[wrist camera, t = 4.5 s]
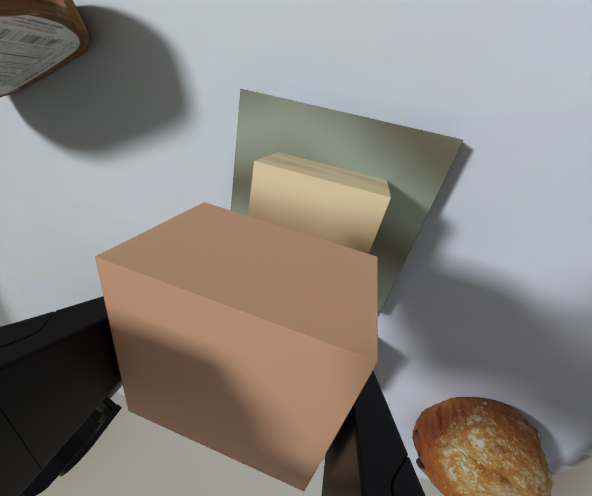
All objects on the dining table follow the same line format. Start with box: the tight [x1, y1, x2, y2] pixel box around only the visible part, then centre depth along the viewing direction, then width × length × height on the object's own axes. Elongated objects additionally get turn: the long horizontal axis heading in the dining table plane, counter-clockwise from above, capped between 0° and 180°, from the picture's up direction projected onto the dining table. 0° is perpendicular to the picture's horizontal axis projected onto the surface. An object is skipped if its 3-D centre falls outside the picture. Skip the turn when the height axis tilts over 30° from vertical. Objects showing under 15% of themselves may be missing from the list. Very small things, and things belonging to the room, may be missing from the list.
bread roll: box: [412, 397, 554, 496], centre depth 22 cm, size 10×10×8 cm
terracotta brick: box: [95, 202, 378, 491], centre depth 8 cm, size 6×6×4 cm
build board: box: [231, 89, 463, 316], centre depth 17 cm, size 13×13×5 cm
